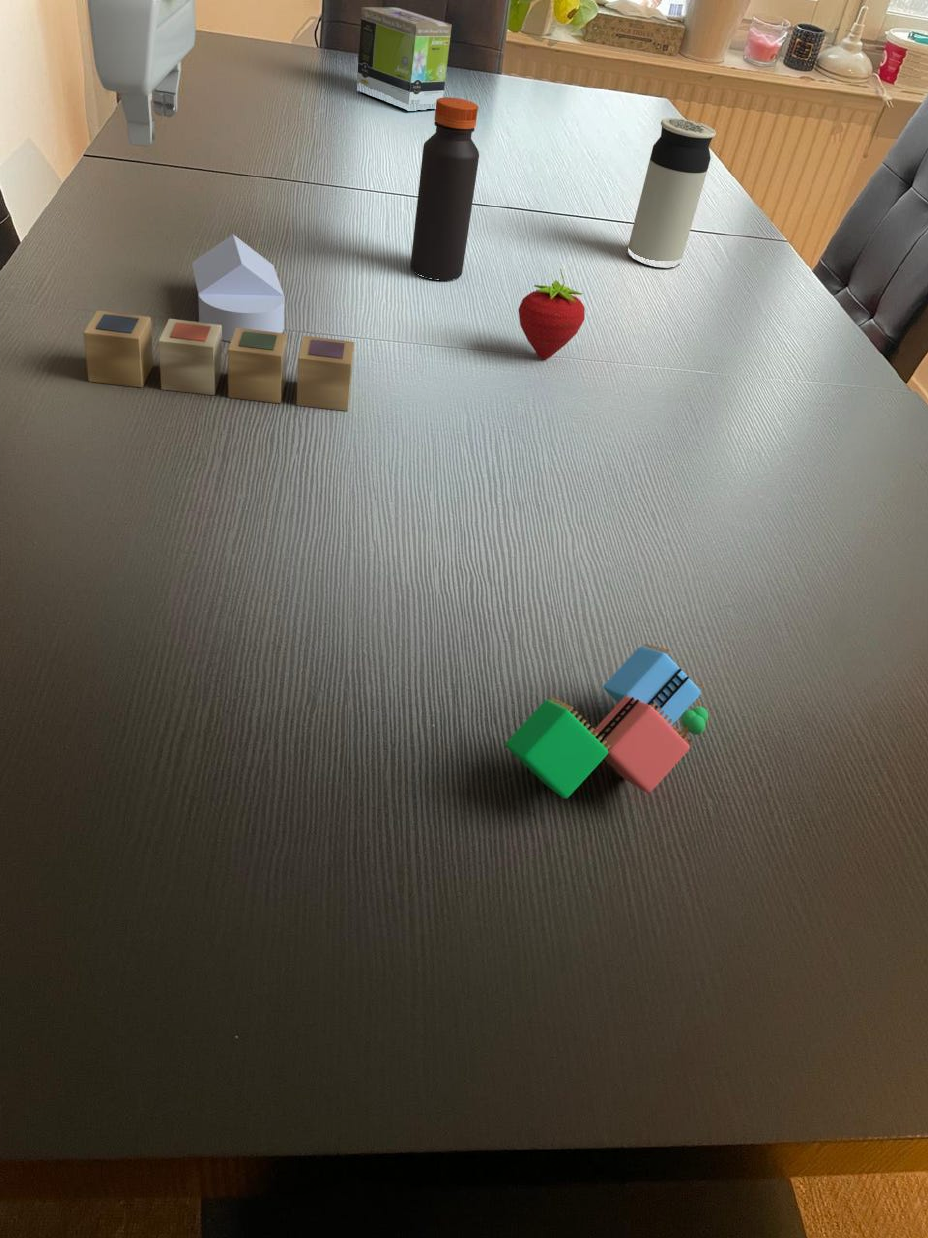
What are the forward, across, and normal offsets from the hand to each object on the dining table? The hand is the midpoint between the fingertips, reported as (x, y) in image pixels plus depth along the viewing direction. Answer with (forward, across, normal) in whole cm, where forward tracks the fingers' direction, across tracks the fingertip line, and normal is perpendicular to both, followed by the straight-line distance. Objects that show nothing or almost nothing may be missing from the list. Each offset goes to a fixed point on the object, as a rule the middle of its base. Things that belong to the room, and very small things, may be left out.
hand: (154, 128), depth 83 cm
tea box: (+22, -122, +20) cm, 126 cm away
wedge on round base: (+22, -14, +6) cm, 27 cm away
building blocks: (+22, +47, +38) cm, 64 cm away
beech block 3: (+22, +2, +16) cm, 27 cm away
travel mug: (+21, -52, +59) cm, 81 cm away
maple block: (+22, +2, +3) cm, 22 cm away
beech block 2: (+22, +2, +10) cm, 24 cm away
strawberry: (+22, -13, +40) cm, 47 cm away
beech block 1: (+22, +2, -3) cm, 23 cm away
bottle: (+22, -35, +27) cm, 50 cm away
